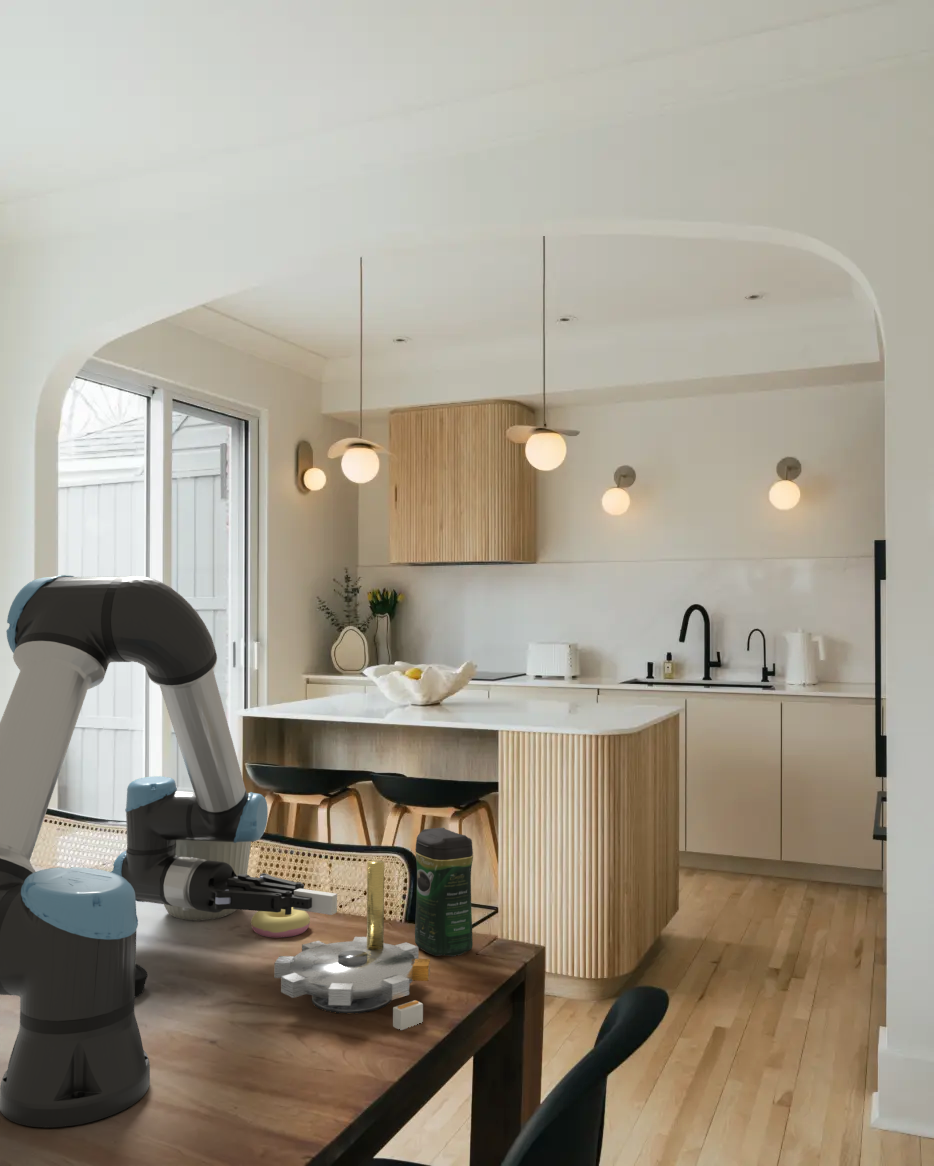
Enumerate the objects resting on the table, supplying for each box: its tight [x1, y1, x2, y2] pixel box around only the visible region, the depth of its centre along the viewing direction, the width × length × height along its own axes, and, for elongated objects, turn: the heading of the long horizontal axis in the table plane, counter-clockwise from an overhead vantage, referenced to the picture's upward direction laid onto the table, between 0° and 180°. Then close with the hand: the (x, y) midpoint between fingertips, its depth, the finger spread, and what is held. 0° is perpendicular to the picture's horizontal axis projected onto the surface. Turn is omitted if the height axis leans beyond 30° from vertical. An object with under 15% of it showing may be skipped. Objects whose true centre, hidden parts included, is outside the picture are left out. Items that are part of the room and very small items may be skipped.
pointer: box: [392, 999, 424, 1031], centre depth 126 cm, size 4×2×3 cm, turn 133°
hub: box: [311, 995, 393, 1015], centre depth 135 cm, size 11×11×3 cm
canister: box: [163, 840, 252, 921], centre depth 175 cm, size 18×18×21 cm
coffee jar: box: [414, 827, 474, 957], centre depth 156 cm, size 10×8×19 cm
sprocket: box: [273, 859, 431, 1006], centre depth 135 cm, size 21×21×14 cm
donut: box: [250, 907, 311, 939], centre depth 165 cm, size 10×5×9 cm
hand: (334, 904), depth 144 cm, fingers closed
